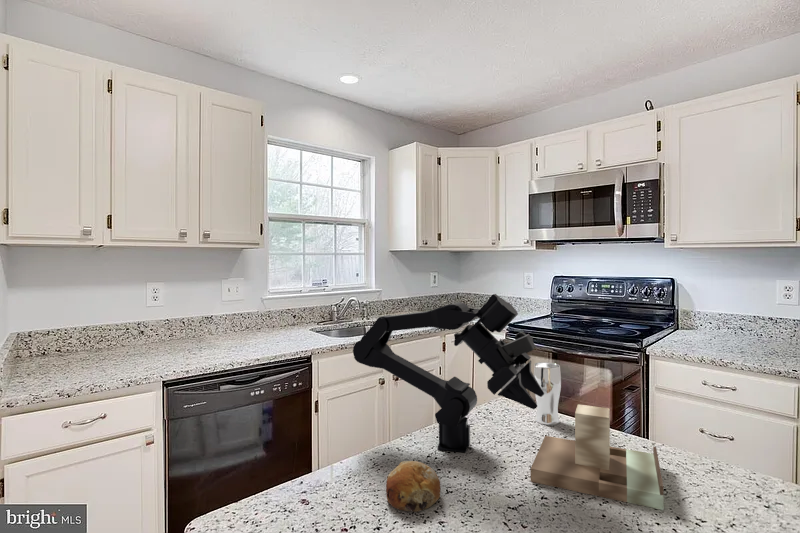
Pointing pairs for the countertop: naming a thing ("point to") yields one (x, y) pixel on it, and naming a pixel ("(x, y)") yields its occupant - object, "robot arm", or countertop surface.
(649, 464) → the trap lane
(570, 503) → the countertop surface
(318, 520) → the countertop surface
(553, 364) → the beer glass
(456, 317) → the robot arm
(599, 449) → the birch block
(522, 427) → the countertop surface
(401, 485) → the bread roll
